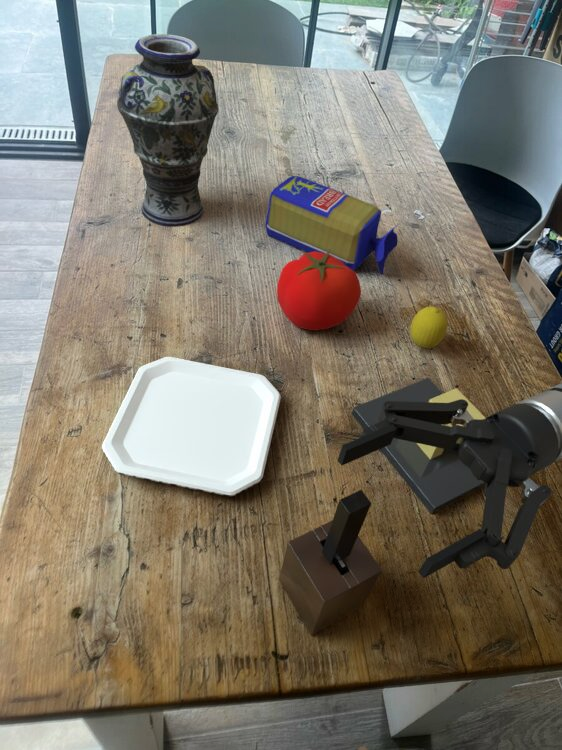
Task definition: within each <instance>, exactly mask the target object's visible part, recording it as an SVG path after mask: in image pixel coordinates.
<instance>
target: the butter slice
mask: <svg viewBox="0 0 562 750" xmlns="http://www.w3.org/2000/svg"><path fill="white" fill-rule="evenodd" d="M417 445H418V446H419V447H420V448H421V449H422V450H423V452H424V453H425V454H426V455H427V456H428V457H429V459H432V458H435V457H437V456H439V455H441V454H442V452H443V450H444V449H443V448H438V447H433V446H429V445H424V444H419V443H417Z"/></svg>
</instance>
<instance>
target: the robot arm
mask: <svg viewBox="0 0 562 750" xmlns="http://www.w3.org/2000/svg"><path fill="white" fill-rule="evenodd" d="M467 407H468V402H467V401H466V400H463V399H460V400H456V401H453V402H449V403H432V402H398V401H386V402H385V403H384V405H383V407H382V410H381V413H380V416H379V420H380V422H379V423H376V424H374V425H371V426H370V427H367V428H365V429H363V430H362V431H361V434H360V437H358V438H356V439H354V440H352V441H348V442H347V443H344V444H342V445H341V448H340V451H339V455H338V459H337V461H338V463H339V465H340V466H341V467H342V466H344V465H347V464H349V463H351V462H354V461H356V460H358V459H361V458H363V457H365V456H367V455H370V454H372V453H375V452H377V451H380V449H381V448H383V447H386V446H388V445H390V444H391V442H392V440H393V438H396V439H401V440H405V441H410V442H415V443H419V444H424V445H429V446H433V447H438V448H443V449H444V450H445V451H446V452H448V453H452V454H457V455H459V456H460V457H459V459H460V461H461V462H462V463H463V464H464V465H466V466H467V467H468V468H470V470H471V472H472V474H473V475H474V476H475V478H476V479H477V480H482V481H484V482H486V486H485V488H484V489H485V490H484V497H485V500H484V506H483V514H482V519H481V520H482V522H481V528H478V529H477V530H475V531H473V532H471V533H470V534H468V535H466V536H465V537H462V538H461V539H458V540H457V541H455V542H453V543H452V544H450V545H448V546H446V547H444V548H443V549H441V550H439V551H437V552H435V553H433V554H432V555H430V556H428V557H426V558H425V560H424V562H423V563H422V565H421V566H420V568H419V570H418V573H419V575H420V576H421V577H422V579H426V578H427V577H430V576H432V575H433V574H434V573H436V572H438V571H440V570H441V569H443V568H445V567H446V566H448V565H450V564H451V563H453V562H454V563H455V564H456V566H457V567H458V568H459V569H460V570H462V569H466V568H469V567H470V566H472V565H473V564H476V563H477V562H479V561H480V560H482V559H484V558H487V557H488V558H491V559H493V560H494V561H495V562H496V565H497V566H498V568H500V569H502V570H507V569H509V568H510V567H511V566H512V565H513V563H514V562H515V561H516V560H517V559H518V558H519V556H520V555H521V553H522V550H523V547H524V545H525V542H526V540H527V538H528V535H529V532H530V530H531V528H532V525H533V523H534V521H535V517H536V515H537V512H538V510H539V509H540V508H541V507H542V505H543V504H544V503H545V502H546V501H547V500H548V499H549V497H550V496H551V495H552V494H553V492H552V489H551V487H550V486H548V485H546V484H542V485H540V486H539V485H538V484H537V483H536V482H534V480H532V478H530V477H531V476H532V475H535V474H536V473H538V472H540V471H542V470H544V469H545V468H547V467H550V466H552V464H554V463H556V462H558V461H560V460H562V382H560V383H559V384H556V385H554V386H552V387H550V388H548V389H546V390H543V391H541V392H540V393H537V394H535V395H532V396H530V397H527V398H525V399H522V400H521V401H518V402H517V403H515V404H512V405H510V406H508V407H506V408H505V407H504V408H503V409H501V410H499V411H497V412H494V413H492V414H490V415H489V416H487V417H485V419H473V417H472V416H471V415H470V413H469V412H468V411H467V410H466V409H467ZM450 423H451V425H452V426H451V427H449V426H445V425H444V424H450ZM456 424H461V425H463V426H460V425H456ZM459 438H461V442H460V444H459V443H456V442H457V440H458V439H459ZM508 487H511V488H520V489H521V494H520V502H521V503H522V504H521V506H520V507H519V509H518V511H517V512H516V514H515V516H514V518H513V519H514V520H513V522H512V524H511V526H510V528H509V530H508V532H507V533H508V534H507V535H506V538H505V536H503V535H502V534H503V523H504V515H505V506H506V496H507V488H508ZM504 538H505V540H504V541H503V539H504Z"/></svg>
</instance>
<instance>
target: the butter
mask: <svg viewBox="0 0 562 750" xmlns="http://www.w3.org/2000/svg"><path fill="white" fill-rule="evenodd" d="M460 399H463V400H466V401H467V402H468V407H467V409H466V410H467V411H468V412H469V413H470V415H471V416H472V417H473V419H485V418H486V416H484V415H483V413H482V412H481V411H480V410H479V409H478V408H477V407H476V405H474V404H473V403H472V402H471V401H470V400H469V399H468V398H467V397H466V396H465V394H463V393H462V392H461V391H460V390H459V389H458V388H453V389H451V390H448V391H446V392H443V394H442V395H439V396H437V397H434V398H432V399H430V400H429V402H432V403H449V402H453V401H456V400H460ZM444 425H445V426H449V427H451V426H452V425H451V423H450V424H444ZM456 425H460V426H463V425H461V424H456ZM460 442H461V438H459V439H458V440H457V442H456V443H459V444H460Z"/></svg>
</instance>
